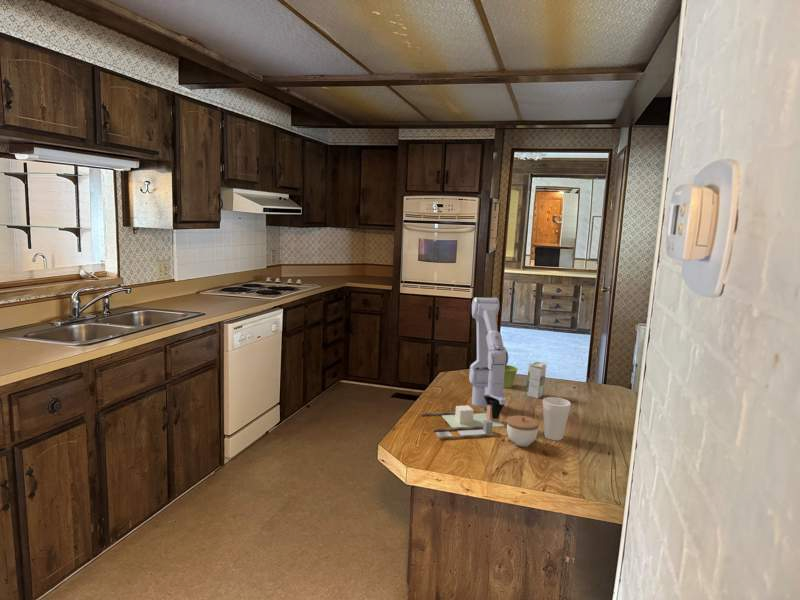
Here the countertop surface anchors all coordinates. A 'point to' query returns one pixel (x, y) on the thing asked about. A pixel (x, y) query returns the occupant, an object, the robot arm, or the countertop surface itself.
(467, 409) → the cream cube
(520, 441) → the lidded jar
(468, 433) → the grey l-shaped bracket
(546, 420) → the foam cup
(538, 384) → the syrup box
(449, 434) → the lane rails
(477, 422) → the green flat panel
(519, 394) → the countertop surface
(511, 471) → the countertop surface
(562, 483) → the countertop surface
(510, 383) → the plant pot
